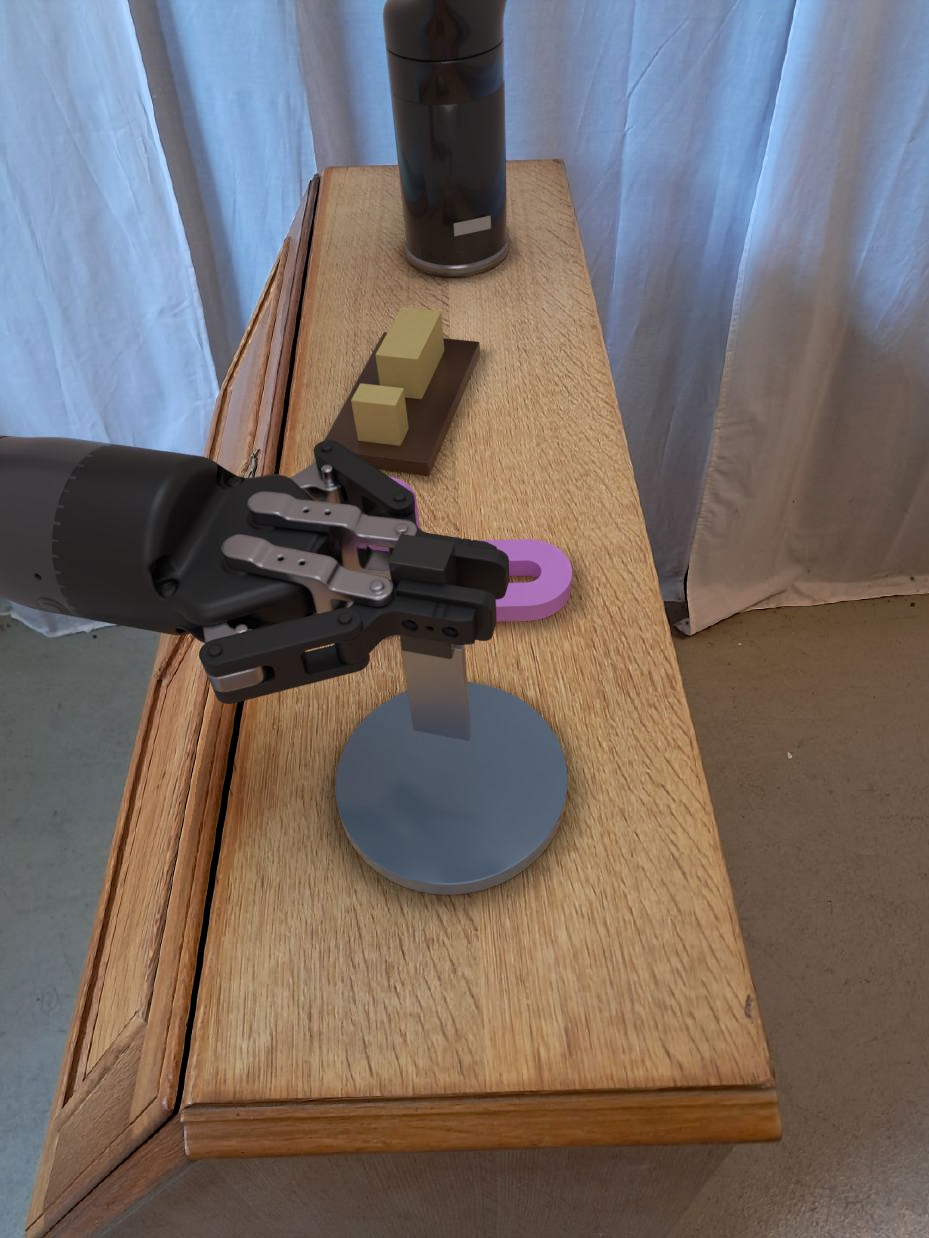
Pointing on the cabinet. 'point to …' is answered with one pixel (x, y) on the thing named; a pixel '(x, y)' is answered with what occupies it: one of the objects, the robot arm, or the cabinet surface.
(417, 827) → the plate
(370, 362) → the board
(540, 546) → the bracket
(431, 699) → the knife
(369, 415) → the butter slice
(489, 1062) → the cabinet surface
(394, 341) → the butter
